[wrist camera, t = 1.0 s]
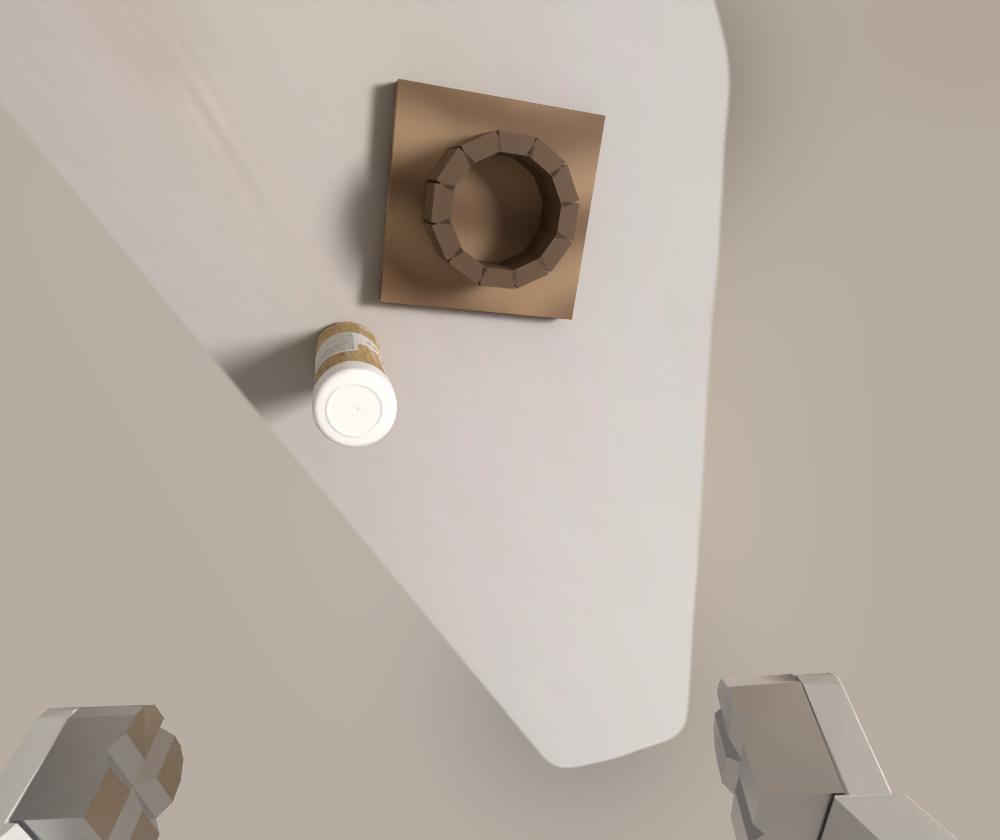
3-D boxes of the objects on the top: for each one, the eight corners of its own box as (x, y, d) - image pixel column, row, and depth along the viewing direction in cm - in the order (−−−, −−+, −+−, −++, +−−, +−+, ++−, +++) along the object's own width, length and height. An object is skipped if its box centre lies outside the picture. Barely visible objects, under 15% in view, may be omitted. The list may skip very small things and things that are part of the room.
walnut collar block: (396, 81, 45) (406, 70, 40) (597, 117, 49) (629, 111, 44) (379, 298, 49) (386, 312, 44) (565, 315, 53) (590, 330, 48)
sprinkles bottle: (388, 368, 51) (409, 431, 39) (328, 391, 50) (332, 462, 38) (364, 310, 49) (379, 356, 37) (302, 333, 49) (297, 388, 36)
